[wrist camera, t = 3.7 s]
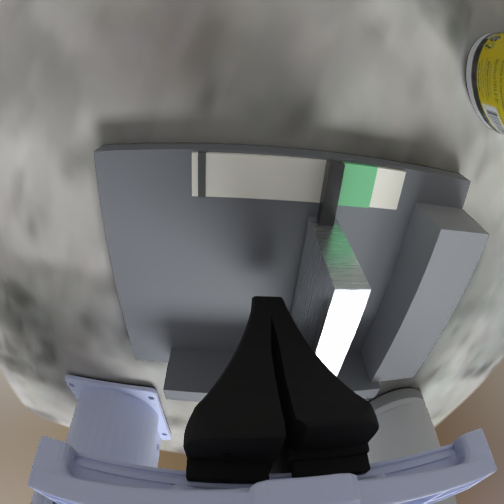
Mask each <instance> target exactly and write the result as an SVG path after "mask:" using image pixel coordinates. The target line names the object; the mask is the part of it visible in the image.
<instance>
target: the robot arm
mask: <svg viewBox="0 0 504 504" xmlns="http://www.w3.org/2000/svg"><path fill="white" fill-rule="evenodd" d="M65 381H66V383H67V384H68V386H69V388H70V389H71V391H72V392H73V394H74V396H75V397H76V399H77V400H78V403H77V406H76V409H75V412H74V415H73V419H72V422H71V425H70V429H69V432H68V435H67V439H66V442H63V441H59V440H56V439H53V438H49V437H46V436H41V439H40V442H39V445H38V449H37V452H36V455H35V458H34V462H33V466H32V469H31V473H30V477H29V481H28V486H29V487H30V488H32V489H33V490H34V493H33V496H32V500H31V504H432V503H435V502H438V501H440V500H443V499H445V498H448V497H450V496H453V495H455V494H458V493H460V492H462V491H465V490H467V489H468V488H470V487H472V486H474V485H475V484H477V483H478V482H480V481H482V480H483V479H485V478H486V477H488V476H489V475H491V474H492V473H494V472H495V471H496V470H497V468H496V465H495V462H494V460H493V457H492V454H491V451H490V448H489V446H488V443H487V441H486V438H485V435H484V433H483V430H482V429H477V430H474V431H472V432H469V433H466V434H463V435H462V436H460V437H459V438H457V439H456V440H455V441H454V443H452V444H449V445H446V446H442V447H439V448H435V449H432V450H428V451H425V452H421V453H417V454H413V455H409V456H405V457H400V458H396V459H391V460H386V461H381V462H376V463H371V464H369V459H368V454H367V453H368V452H369V450H370V449H369V445H368V442H369V441H370V440H371V439H372V438H373V436H374V435H375V434H376V433H377V431H378V429H379V423H378V419H377V416H376V414H375V411H374V409H373V407H372V405H371V403H369V402H368V401H366V400H365V399H363V398H362V397H361V396H359V395H358V394H356V393H355V392H354V391H352V390H351V389H350V388H349V387H347V386H346V385H345V384H344V383H343V382H342V381H341V380H340V379H339V378H338V377H337V376H336V375H334V374H333V373H332V372H331V371H330V370H329V368H328V367H327V366H326V365H325V364H324V363H323V362H322V361H321V359H320V358H319V357H318V356H317V355H316V353H315V352H314V351H313V350H312V348H311V347H310V345H309V344H308V343H307V341H306V340H305V338H304V337H303V335H302V334H301V332H300V330H299V329H298V327H297V325H296V324H295V322H294V320H293V318H292V317H291V315H290V313H289V311H288V309H287V307H286V305H285V302H284V300H283V298H282V297H271V296H254V297H253V298H252V303H251V312H250V316H249V320H248V323H247V326H246V329H245V331H244V334H243V336H242V338H241V341H240V343H239V345H238V347H237V349H236V351H235V353H234V355H233V357H232V359H231V361H230V362H229V364H228V366H227V367H226V369H225V370H224V372H223V373H222V375H221V376H220V378H219V379H218V381H217V382H216V383H215V385H214V386H213V387H212V388H211V390H210V391H209V392H208V393H207V395H206V396H205V397H204V398H203V399H202V400H201V401H200V402H199V403H198V405H197V406H196V407H195V409H194V411H193V413H192V415H191V417H190V419H189V421H188V424H187V426H186V429H185V433H184V446H183V447H184V450H185V453H186V456H187V468H186V471H180V470H171V469H163V468H157V465H158V458H159V451H160V443H161V440H171V433H170V430H169V427H168V425H167V422H166V419H165V416H164V413H163V409H162V406H161V403H160V400H159V397H158V394H157V391H156V390H155V389H153V388H150V387H142V386H134V385H127V384H120V383H113V382H107V381H101V380H95V379H89V378H84V377H78V376H73V375H66V376H65ZM270 472H271V474H270Z"/></svg>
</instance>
